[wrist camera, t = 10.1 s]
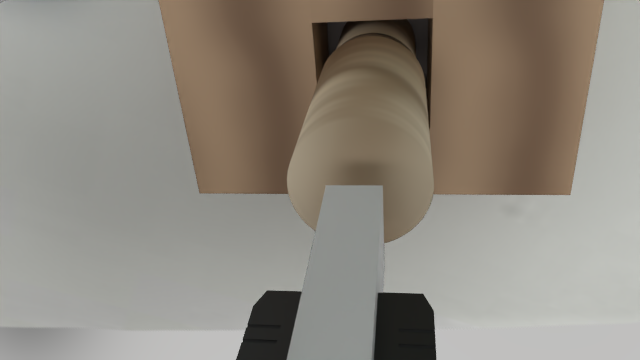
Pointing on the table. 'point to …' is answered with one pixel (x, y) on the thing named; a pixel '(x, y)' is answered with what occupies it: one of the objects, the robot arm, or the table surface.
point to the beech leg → (368, 127)
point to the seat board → (440, 81)
